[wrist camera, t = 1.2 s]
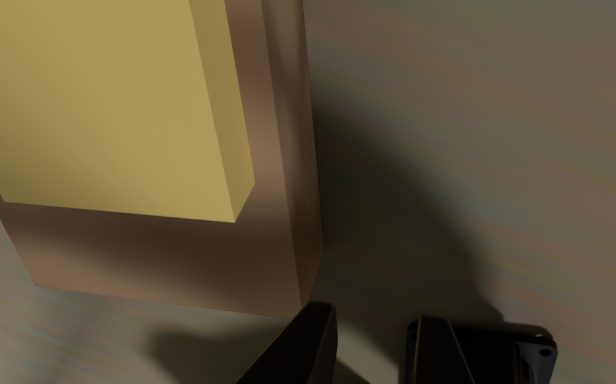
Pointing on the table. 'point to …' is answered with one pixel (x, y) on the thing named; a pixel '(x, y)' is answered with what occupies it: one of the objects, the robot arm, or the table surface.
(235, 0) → the brown wooden block
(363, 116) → the table surface
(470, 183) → the table surface
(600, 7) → the table surface
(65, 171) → the yellow block
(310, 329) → the robot arm
